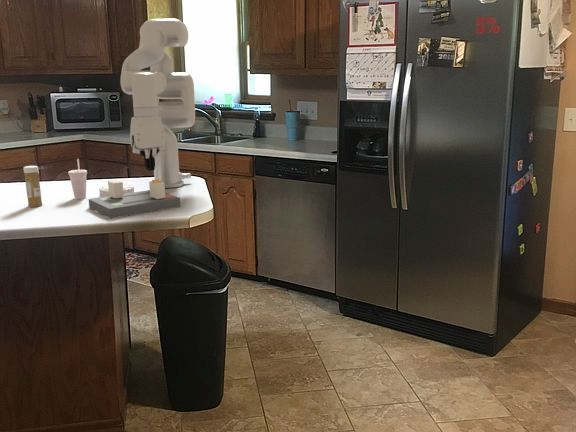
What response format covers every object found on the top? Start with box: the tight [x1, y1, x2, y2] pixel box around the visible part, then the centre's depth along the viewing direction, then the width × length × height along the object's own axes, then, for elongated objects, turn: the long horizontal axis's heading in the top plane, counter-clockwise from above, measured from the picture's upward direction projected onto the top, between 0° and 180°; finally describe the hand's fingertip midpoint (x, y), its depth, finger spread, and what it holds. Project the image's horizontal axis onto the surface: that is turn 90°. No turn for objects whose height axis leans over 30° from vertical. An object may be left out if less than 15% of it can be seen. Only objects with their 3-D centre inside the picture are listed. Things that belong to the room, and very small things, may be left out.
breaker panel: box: [88, 189, 181, 219], centre depth 204 cm, size 24×18×3 cm
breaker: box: [107, 179, 124, 198], centre depth 205 cm, size 3×5×5 cm, turn 37°
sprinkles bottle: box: [22, 165, 43, 208], centre depth 207 cm, size 5×5×13 cm
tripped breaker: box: [148, 179, 166, 199], centre depth 203 cm, size 3×5×6 cm, turn 37°
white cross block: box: [98, 183, 135, 197], centre depth 223 cm, size 12×12×4 cm
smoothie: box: [67, 158, 88, 200], centre depth 218 cm, size 6×6×14 cm
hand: (150, 169), depth 201 cm, fingers closed
